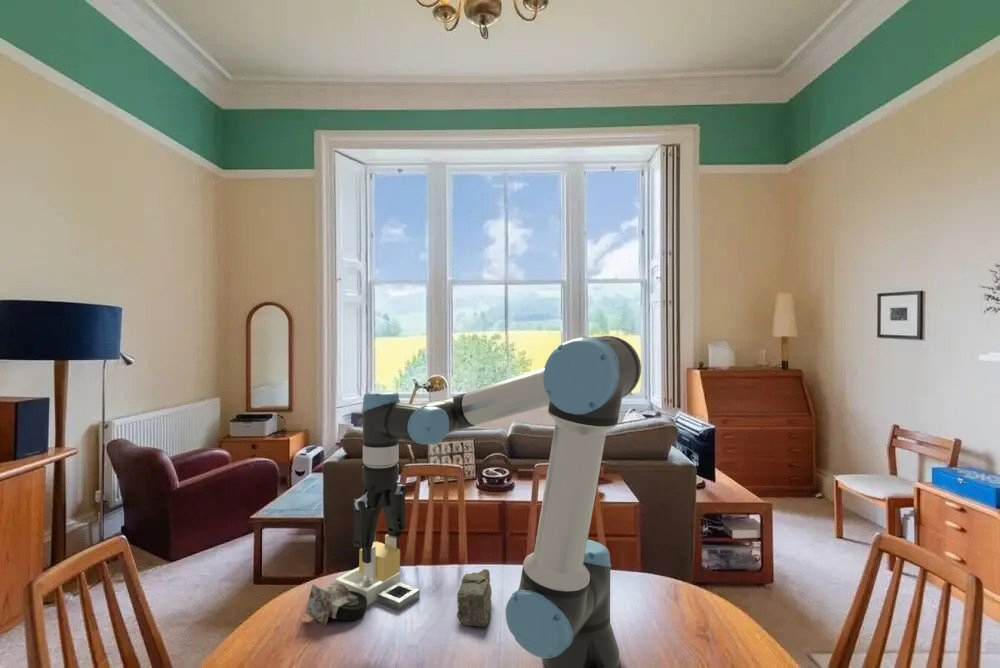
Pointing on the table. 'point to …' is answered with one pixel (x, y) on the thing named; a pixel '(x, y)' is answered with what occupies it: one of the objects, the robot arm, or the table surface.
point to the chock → (384, 561)
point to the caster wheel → (335, 603)
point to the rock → (475, 599)
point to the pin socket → (398, 603)
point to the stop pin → (367, 580)
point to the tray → (371, 593)
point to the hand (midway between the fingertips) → (380, 570)
